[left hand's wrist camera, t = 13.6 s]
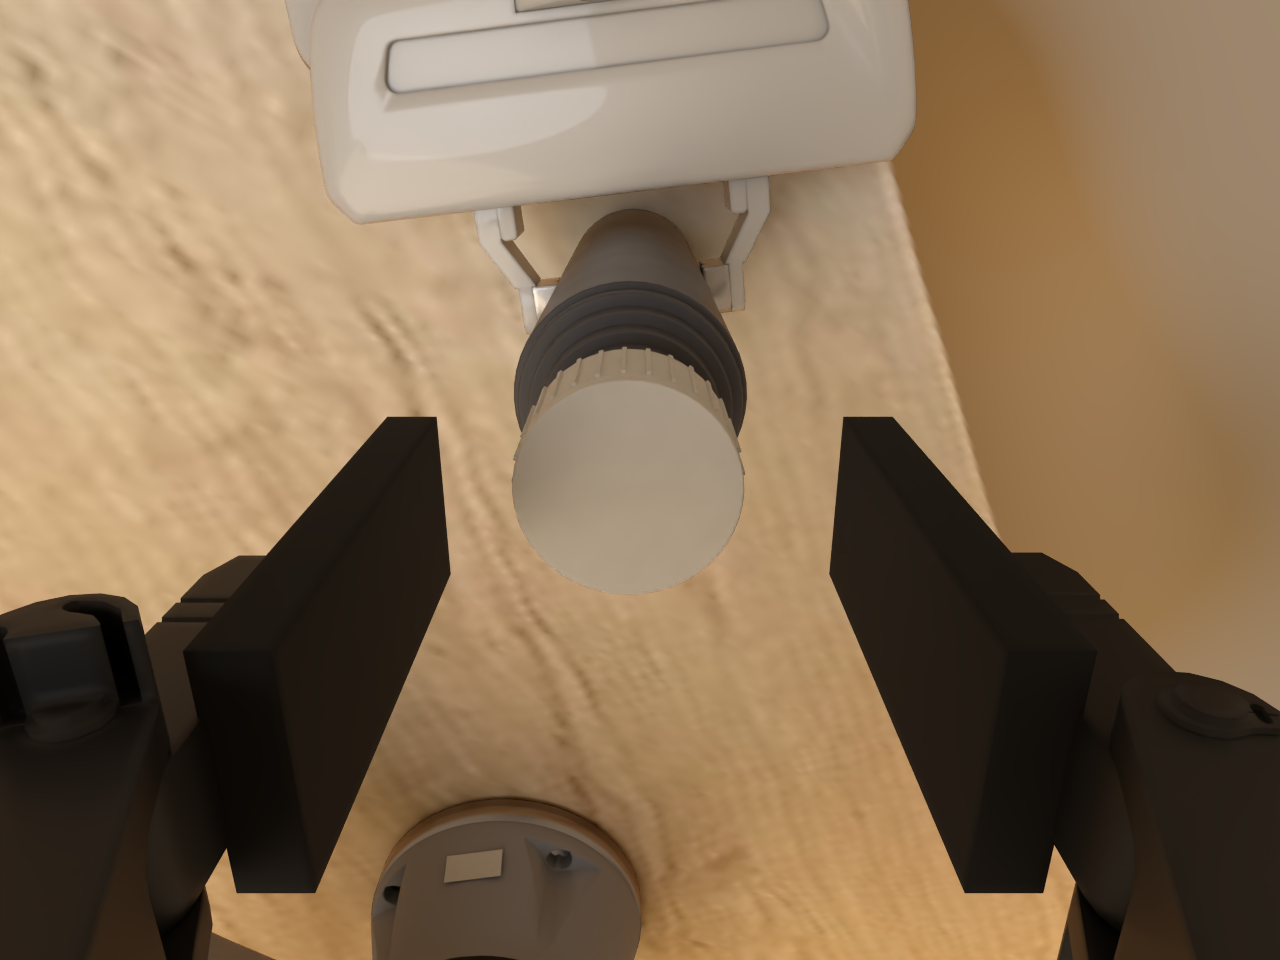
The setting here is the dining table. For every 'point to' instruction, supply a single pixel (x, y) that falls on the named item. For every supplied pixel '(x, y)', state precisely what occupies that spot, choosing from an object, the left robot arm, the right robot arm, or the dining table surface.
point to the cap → (628, 473)
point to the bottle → (632, 311)
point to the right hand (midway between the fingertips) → (636, 320)
